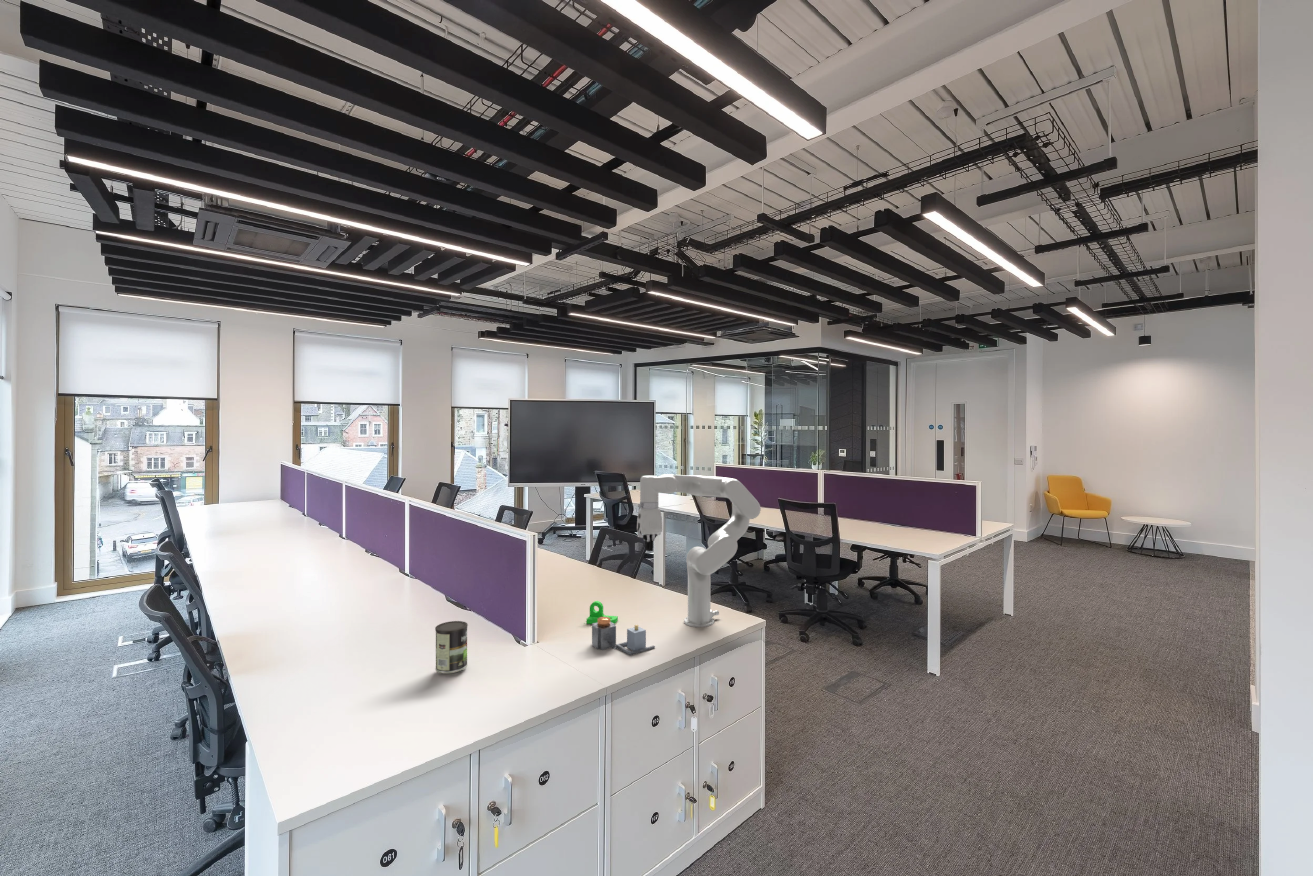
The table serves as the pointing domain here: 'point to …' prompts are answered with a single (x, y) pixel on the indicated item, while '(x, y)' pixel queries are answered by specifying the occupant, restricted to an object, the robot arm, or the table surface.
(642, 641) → the light blue block
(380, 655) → the table surface
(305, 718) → the table surface
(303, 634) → the table surface
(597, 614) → the mechanical part
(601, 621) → the plunger
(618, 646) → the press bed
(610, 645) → the copper disc holder
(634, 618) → the table surface
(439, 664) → the coffee can
